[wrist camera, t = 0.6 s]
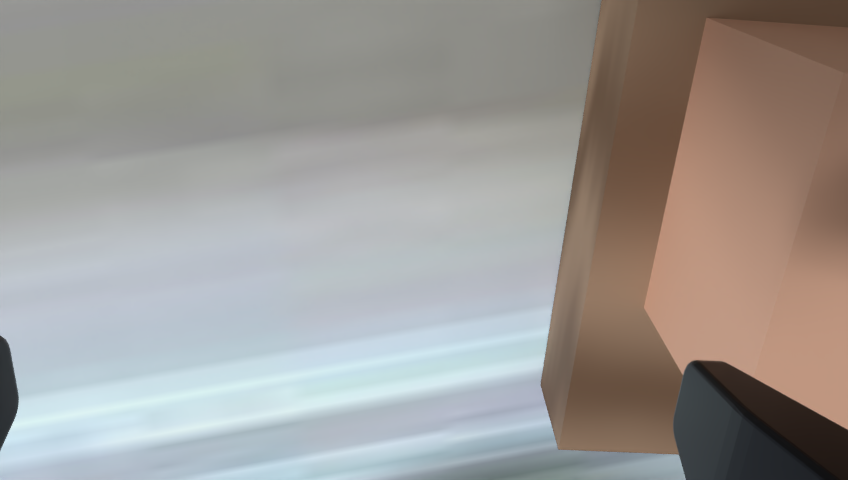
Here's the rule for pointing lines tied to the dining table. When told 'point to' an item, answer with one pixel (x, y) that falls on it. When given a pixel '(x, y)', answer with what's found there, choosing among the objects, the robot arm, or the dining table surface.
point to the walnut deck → (631, 220)
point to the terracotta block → (762, 213)
